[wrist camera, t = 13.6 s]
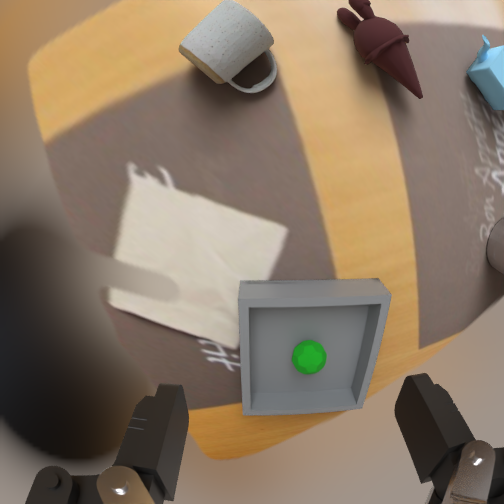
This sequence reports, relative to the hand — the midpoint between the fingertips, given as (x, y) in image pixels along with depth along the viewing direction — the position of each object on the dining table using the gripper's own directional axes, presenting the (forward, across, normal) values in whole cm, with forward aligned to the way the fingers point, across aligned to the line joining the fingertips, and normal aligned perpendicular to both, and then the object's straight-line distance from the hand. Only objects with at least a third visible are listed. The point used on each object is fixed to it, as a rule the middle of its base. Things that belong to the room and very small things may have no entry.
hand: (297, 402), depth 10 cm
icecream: (+30, -14, -21) cm, 40 cm away
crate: (+30, -6, +20) cm, 37 cm away
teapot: (+30, -32, -22) cm, 49 cm away
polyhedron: (+29, -6, +20) cm, 36 cm away
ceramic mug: (+30, +4, -19) cm, 36 cm away
